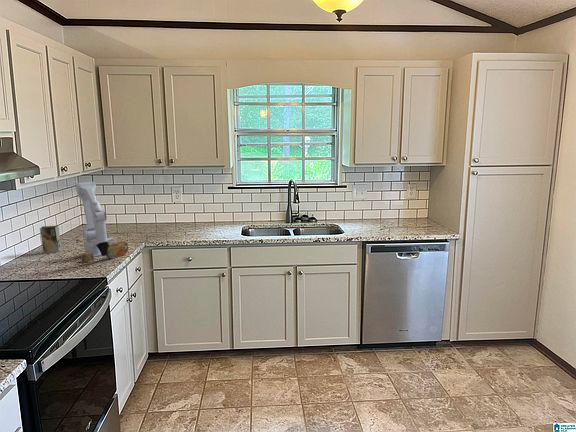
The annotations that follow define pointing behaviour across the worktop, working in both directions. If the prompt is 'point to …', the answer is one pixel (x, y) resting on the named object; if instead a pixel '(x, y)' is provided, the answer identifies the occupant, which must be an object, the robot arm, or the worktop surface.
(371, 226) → the worktop surface
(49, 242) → the coffee box
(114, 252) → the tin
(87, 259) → the letter block
